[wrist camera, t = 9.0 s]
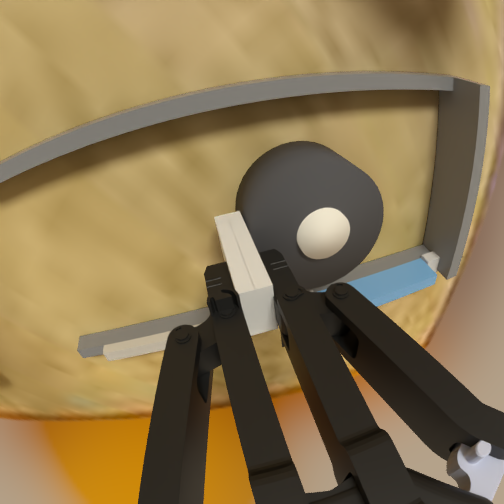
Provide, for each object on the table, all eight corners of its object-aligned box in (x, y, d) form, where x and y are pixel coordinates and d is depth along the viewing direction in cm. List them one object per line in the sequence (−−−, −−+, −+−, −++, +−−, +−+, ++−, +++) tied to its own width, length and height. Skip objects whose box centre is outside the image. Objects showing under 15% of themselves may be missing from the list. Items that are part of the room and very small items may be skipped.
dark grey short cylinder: (247, 265, 22) (263, 308, 19) (224, 156, 18) (239, 184, 14) (350, 236, 23) (381, 271, 20) (349, 132, 18) (390, 154, 15)
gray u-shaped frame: (86, 346, 23) (82, 385, 20) (-13, 168, 14) (-45, 195, 10) (429, 252, 27) (455, 278, 23) (449, 74, 17) (489, 86, 14)
